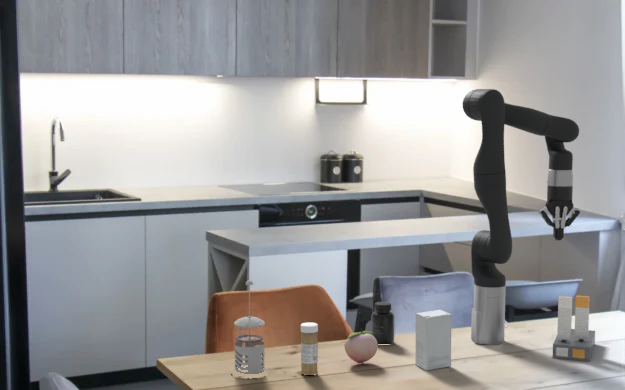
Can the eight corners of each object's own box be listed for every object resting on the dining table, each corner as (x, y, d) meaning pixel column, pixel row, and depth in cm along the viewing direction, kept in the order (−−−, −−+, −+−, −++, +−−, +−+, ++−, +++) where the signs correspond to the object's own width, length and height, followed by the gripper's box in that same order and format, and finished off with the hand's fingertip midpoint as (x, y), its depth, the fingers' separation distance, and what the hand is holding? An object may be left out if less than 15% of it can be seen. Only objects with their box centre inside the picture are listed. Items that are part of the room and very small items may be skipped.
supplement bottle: (382, 338, 280) (382, 299, 279) (398, 343, 275) (399, 303, 274) (366, 342, 275) (366, 303, 274) (383, 347, 270) (383, 307, 269)
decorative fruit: (362, 371, 246) (363, 334, 245) (339, 365, 252) (339, 329, 251) (384, 363, 253) (384, 328, 252) (361, 358, 259) (361, 323, 258)
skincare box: (439, 361, 255) (440, 308, 254) (452, 367, 250) (453, 313, 249) (413, 365, 252) (414, 311, 250) (425, 371, 246) (426, 316, 245)
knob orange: (587, 339, 262) (588, 297, 261) (574, 338, 263) (575, 296, 262) (588, 337, 264) (589, 296, 263) (575, 336, 265) (576, 295, 264)
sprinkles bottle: (310, 370, 247) (310, 321, 245) (321, 374, 243) (321, 324, 242) (297, 373, 244) (297, 323, 242) (307, 377, 240) (308, 326, 239)
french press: (239, 381, 237) (239, 285, 234) (222, 369, 247) (222, 277, 245) (274, 376, 241) (274, 281, 239) (256, 365, 252) (256, 274, 249)
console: (589, 361, 256) (590, 346, 255) (552, 358, 259) (552, 343, 259) (594, 344, 275) (595, 329, 274) (560, 340, 278) (560, 326, 278)
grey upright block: (570, 339, 261) (571, 298, 260) (557, 338, 263) (558, 297, 261) (570, 338, 263) (572, 296, 262) (558, 337, 264) (559, 295, 263)
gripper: (542, 185, 280) (541, 242, 282) (585, 185, 281) (583, 241, 283) (535, 183, 288) (533, 238, 289) (576, 183, 289) (574, 238, 290)
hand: (558, 240), depth 286 cm, fingers closed
